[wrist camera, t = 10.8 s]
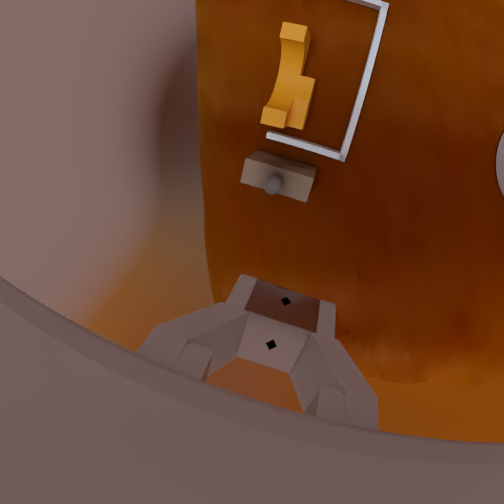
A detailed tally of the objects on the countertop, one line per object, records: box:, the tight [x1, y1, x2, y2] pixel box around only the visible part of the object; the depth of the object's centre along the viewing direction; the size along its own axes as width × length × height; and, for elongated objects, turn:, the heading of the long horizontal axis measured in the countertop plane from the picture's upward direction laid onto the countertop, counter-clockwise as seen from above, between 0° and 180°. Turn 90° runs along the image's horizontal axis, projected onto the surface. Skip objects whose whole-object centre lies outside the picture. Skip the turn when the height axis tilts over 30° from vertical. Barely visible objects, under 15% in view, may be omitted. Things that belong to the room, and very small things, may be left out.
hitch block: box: [240, 150, 317, 202], centre depth 37 cm, size 8×3×9 cm, turn 77°
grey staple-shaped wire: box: [266, 0, 389, 162], centre depth 32 cm, size 10×22×2 cm, turn 167°
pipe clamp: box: [260, 22, 316, 130], centre depth 32 cm, size 12×4×6 cm, turn 169°
